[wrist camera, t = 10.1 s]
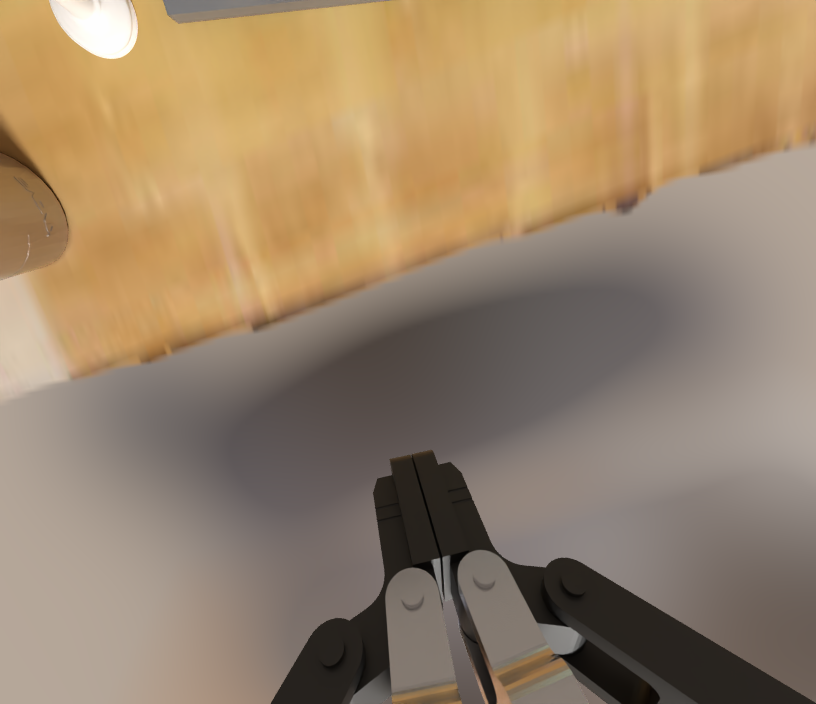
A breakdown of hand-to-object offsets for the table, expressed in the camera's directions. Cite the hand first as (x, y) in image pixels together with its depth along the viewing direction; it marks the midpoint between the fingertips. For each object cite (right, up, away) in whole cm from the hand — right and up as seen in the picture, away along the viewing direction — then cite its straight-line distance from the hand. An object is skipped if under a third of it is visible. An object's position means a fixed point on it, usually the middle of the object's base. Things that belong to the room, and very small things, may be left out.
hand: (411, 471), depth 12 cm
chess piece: (-21, +27, +12) cm, 36 cm away
